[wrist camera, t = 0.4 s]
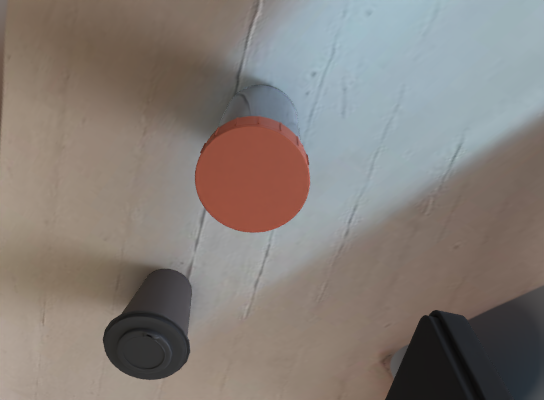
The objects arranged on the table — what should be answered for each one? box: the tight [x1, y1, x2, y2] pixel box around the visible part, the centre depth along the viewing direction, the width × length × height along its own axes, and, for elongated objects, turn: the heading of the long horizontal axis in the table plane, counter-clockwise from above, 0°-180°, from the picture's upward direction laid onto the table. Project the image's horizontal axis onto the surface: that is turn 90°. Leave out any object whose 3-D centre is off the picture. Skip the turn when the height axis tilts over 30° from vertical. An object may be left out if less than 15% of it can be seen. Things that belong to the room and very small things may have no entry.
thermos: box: [218, 85, 301, 142], centre depth 37 cm, size 7×7×14 cm
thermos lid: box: [195, 116, 310, 232], centre depth 31 cm, size 7×7×2 cm
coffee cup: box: [103, 269, 192, 380], centre depth 47 cm, size 8×8×10 cm
